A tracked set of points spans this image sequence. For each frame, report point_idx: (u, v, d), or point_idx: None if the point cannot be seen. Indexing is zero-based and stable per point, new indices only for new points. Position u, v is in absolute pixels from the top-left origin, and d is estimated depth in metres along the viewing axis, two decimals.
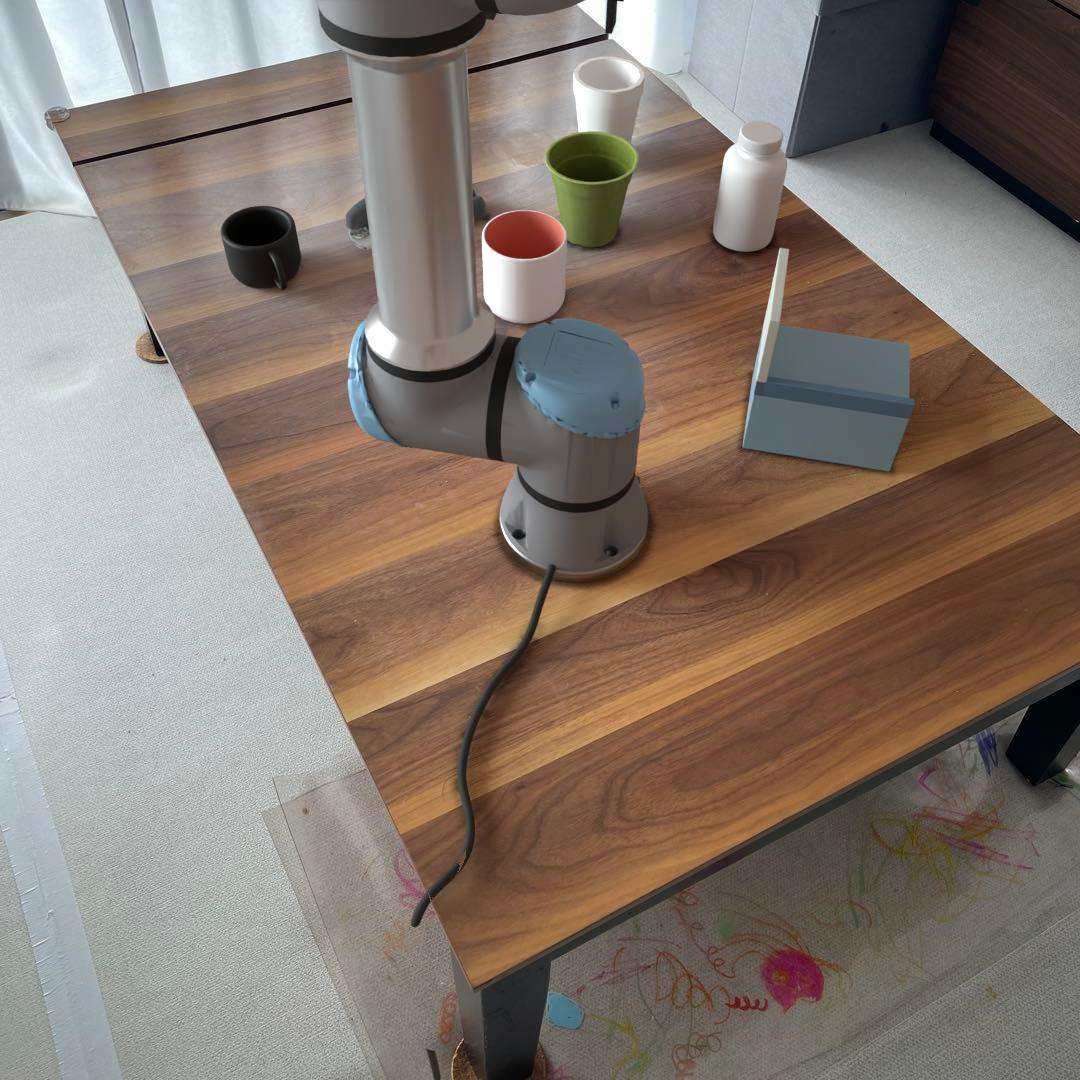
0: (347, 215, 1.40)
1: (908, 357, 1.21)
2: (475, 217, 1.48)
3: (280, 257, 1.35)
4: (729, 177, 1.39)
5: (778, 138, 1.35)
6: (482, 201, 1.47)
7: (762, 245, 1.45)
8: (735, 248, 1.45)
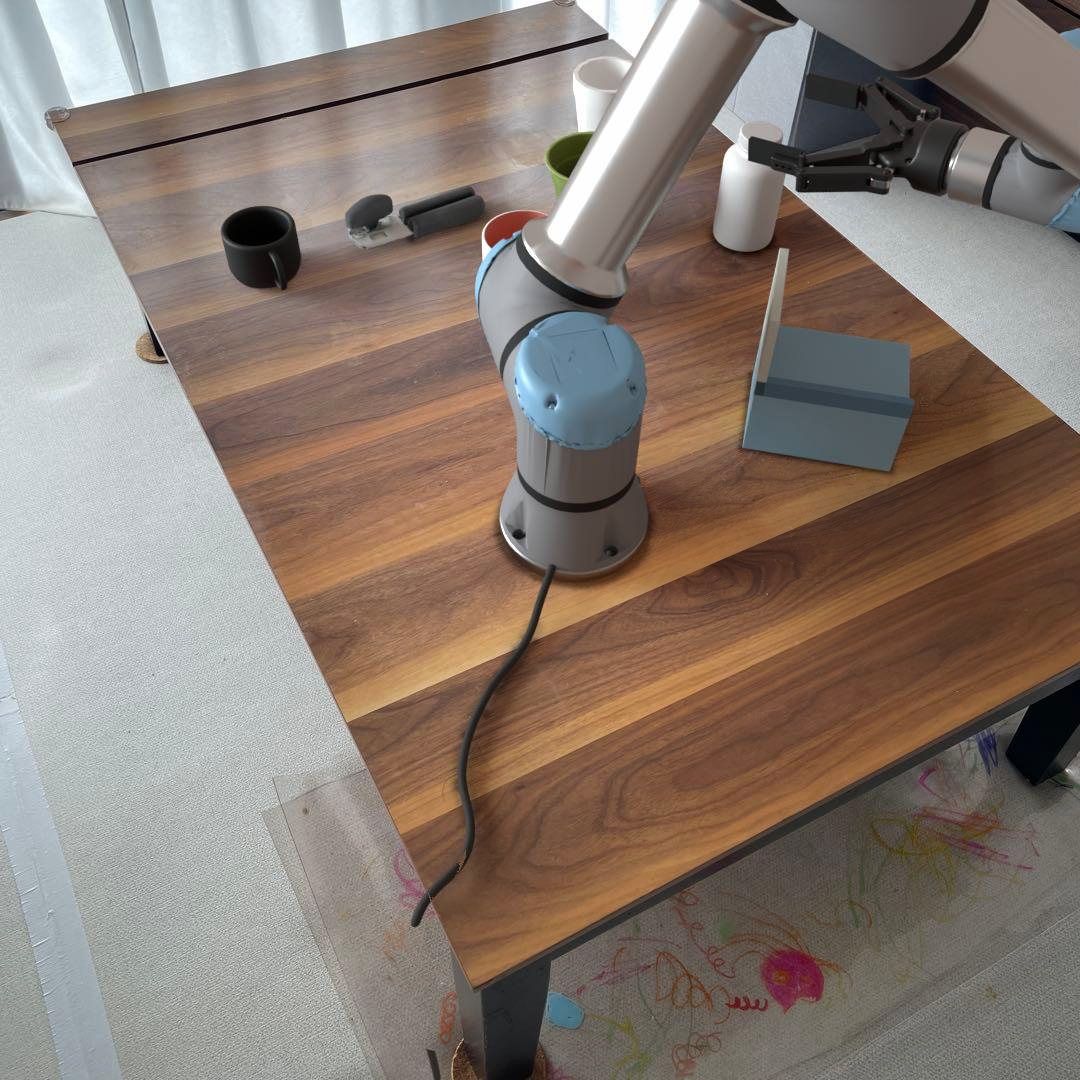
0: (346, 214, 1.40)
1: (908, 357, 1.21)
2: (474, 216, 1.48)
3: (280, 257, 1.35)
4: (729, 177, 1.39)
5: (778, 138, 1.35)
6: (482, 201, 1.47)
7: (762, 245, 1.45)
8: (735, 248, 1.45)
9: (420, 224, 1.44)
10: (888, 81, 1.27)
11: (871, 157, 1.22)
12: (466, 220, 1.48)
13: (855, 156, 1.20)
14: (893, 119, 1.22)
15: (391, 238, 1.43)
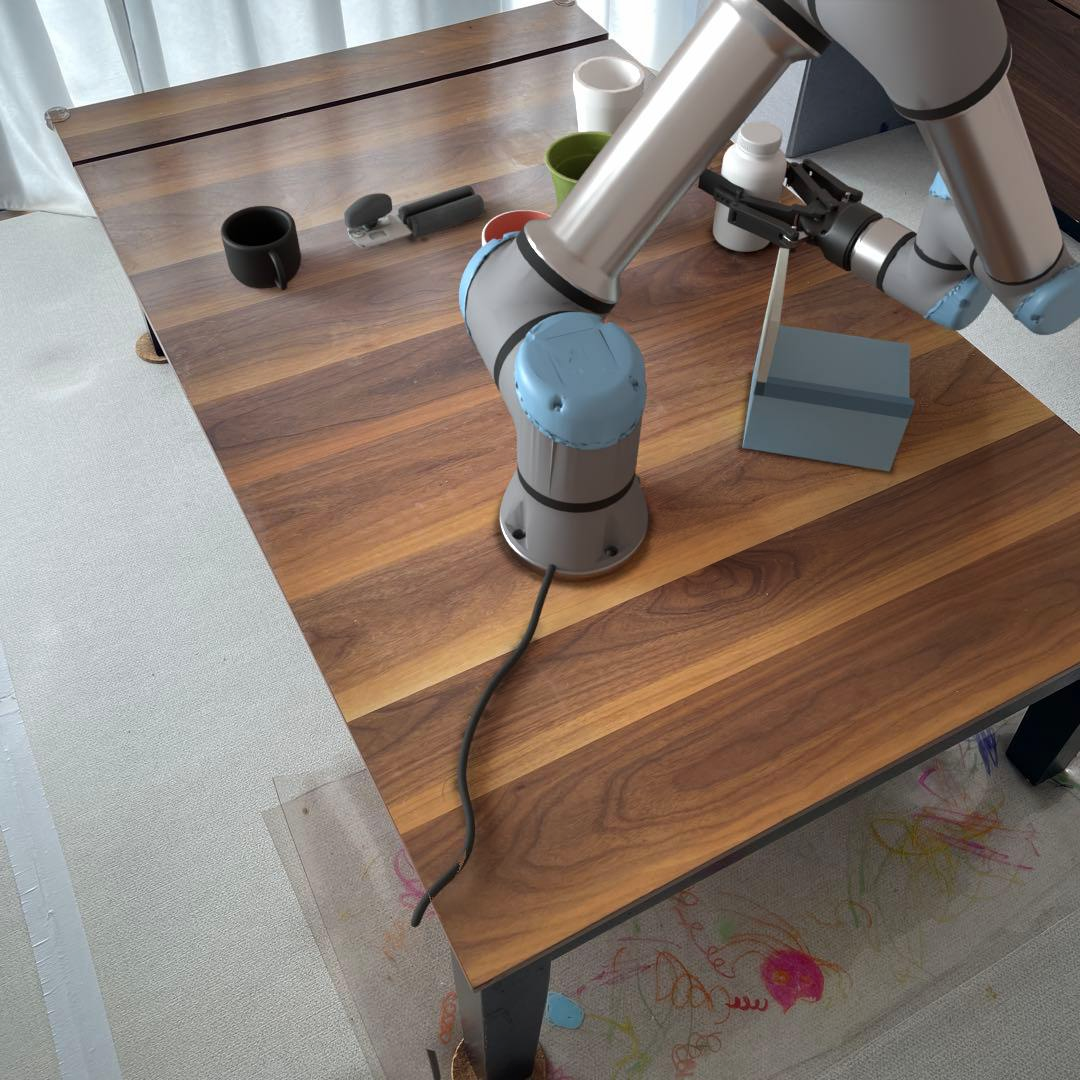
0: (346, 213, 1.41)
1: (908, 357, 1.21)
2: (474, 216, 1.48)
3: (280, 257, 1.35)
4: (728, 178, 1.39)
5: (777, 138, 1.35)
6: (481, 200, 1.48)
7: (762, 245, 1.45)
8: (735, 248, 1.45)
9: (419, 223, 1.44)
10: (815, 164, 1.41)
11: (797, 223, 1.36)
12: (465, 219, 1.48)
13: (781, 211, 1.35)
14: (820, 196, 1.36)
15: (390, 237, 1.43)
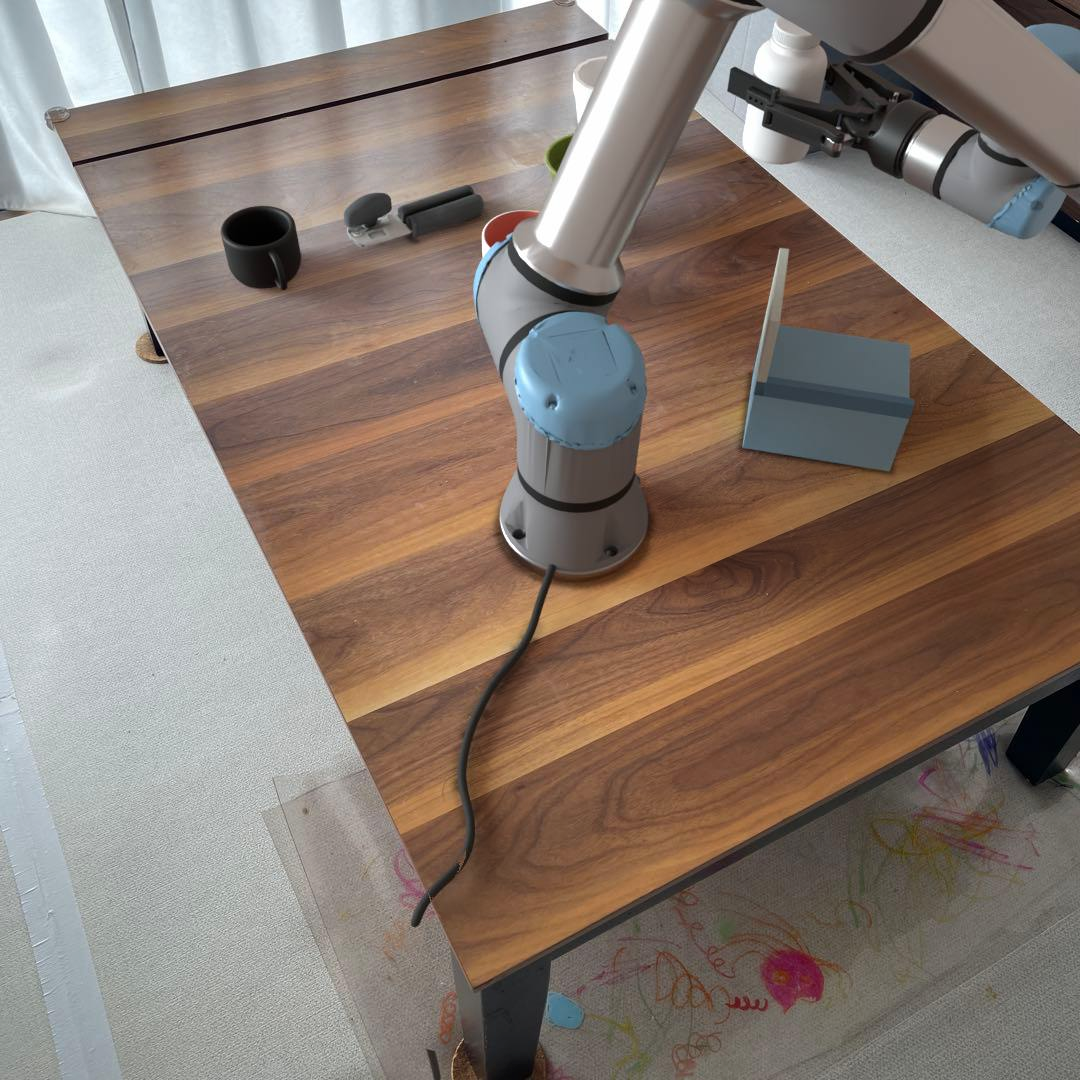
0: (345, 212, 1.41)
1: (908, 357, 1.21)
2: (473, 215, 1.48)
3: (280, 257, 1.35)
4: (762, 77, 1.24)
5: None
6: (480, 199, 1.48)
7: (798, 157, 1.30)
8: (768, 160, 1.30)
9: (419, 223, 1.44)
10: (857, 64, 1.27)
11: (840, 125, 1.21)
12: (465, 219, 1.48)
13: (823, 112, 1.21)
14: (866, 96, 1.22)
15: (390, 236, 1.43)
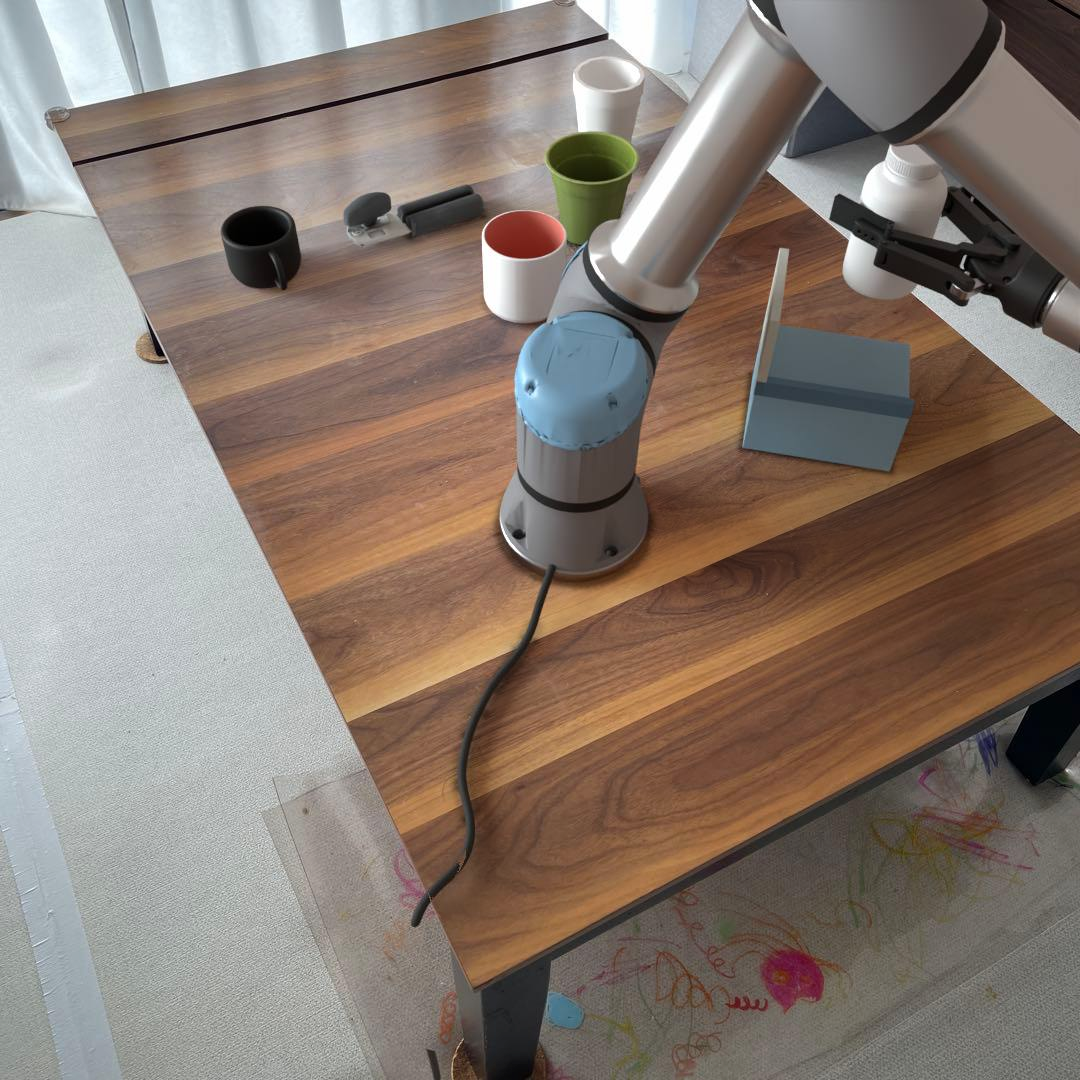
0: (345, 211, 1.41)
1: (908, 357, 1.21)
2: (473, 215, 1.49)
3: (280, 257, 1.35)
4: (872, 208, 1.08)
5: None
6: (480, 199, 1.48)
7: (908, 291, 1.14)
8: (874, 295, 1.14)
9: (418, 222, 1.45)
10: None
11: (965, 266, 1.05)
12: (464, 218, 1.48)
13: (946, 251, 1.05)
14: (994, 232, 1.06)
15: (389, 236, 1.43)
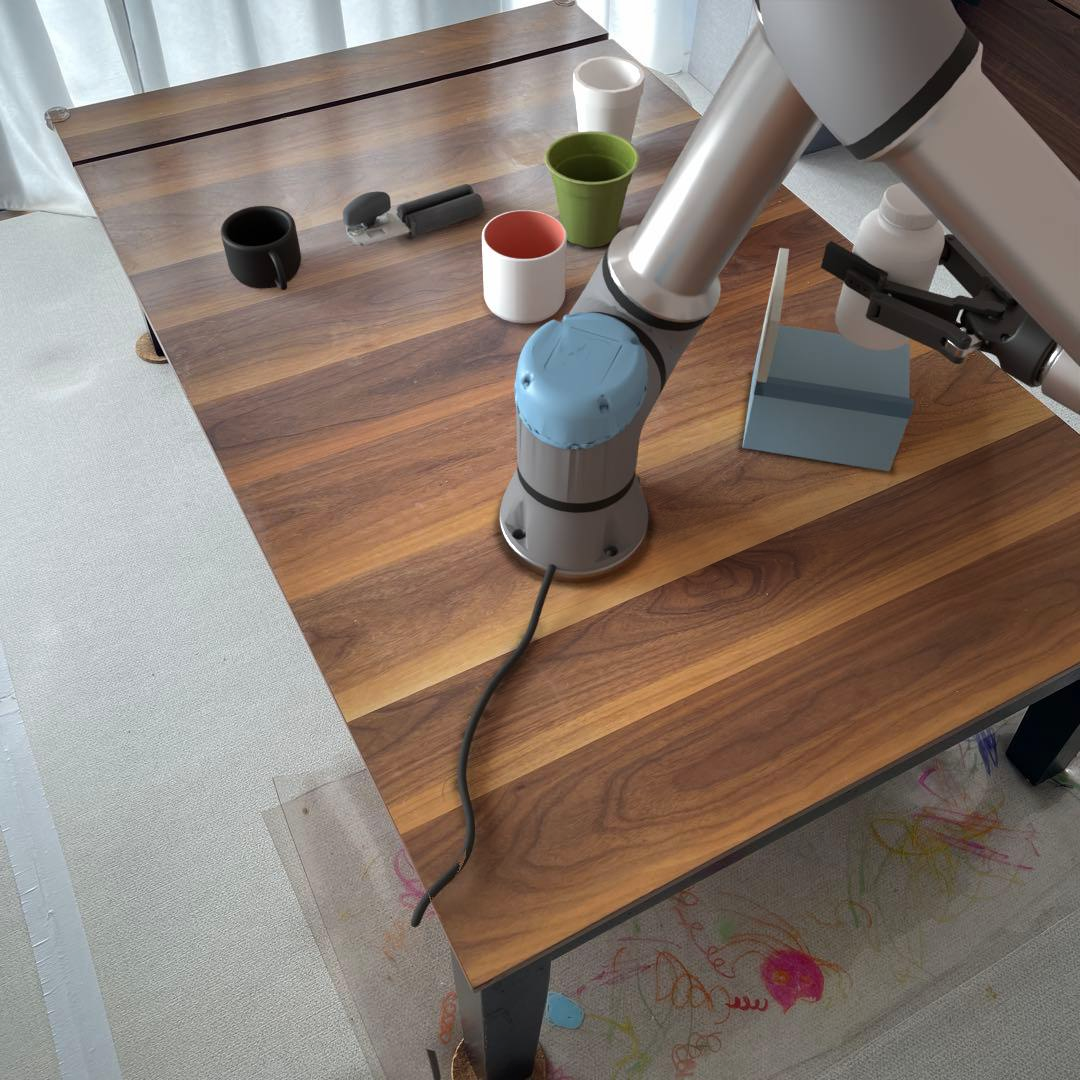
0: (344, 211, 1.41)
1: (908, 357, 1.21)
2: (472, 214, 1.49)
3: (280, 257, 1.35)
4: (866, 258, 1.03)
5: None
6: (479, 198, 1.48)
7: (903, 342, 1.09)
8: (867, 346, 1.09)
9: (418, 222, 1.45)
10: None
11: (961, 320, 1.01)
12: (464, 218, 1.48)
13: (941, 305, 1.00)
14: (993, 284, 1.01)
15: (389, 235, 1.43)
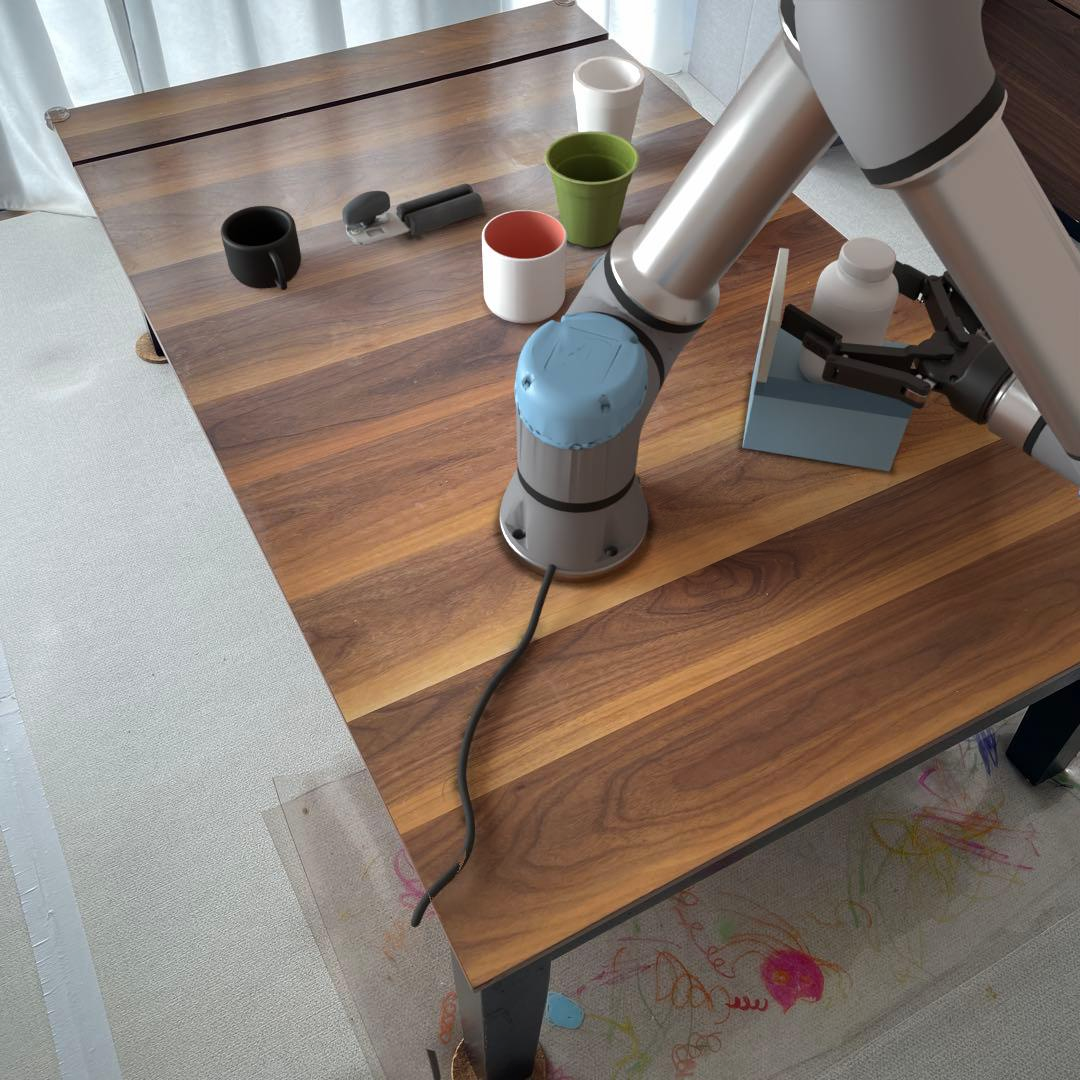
0: (343, 210, 1.41)
1: None
2: (472, 214, 1.49)
3: (280, 257, 1.35)
4: (825, 307, 1.10)
5: (891, 261, 1.07)
6: (479, 198, 1.48)
7: None
8: None
9: (417, 221, 1.45)
10: None
11: (915, 361, 1.07)
12: (463, 217, 1.48)
13: (896, 357, 1.06)
14: (950, 326, 1.08)
15: (388, 234, 1.44)
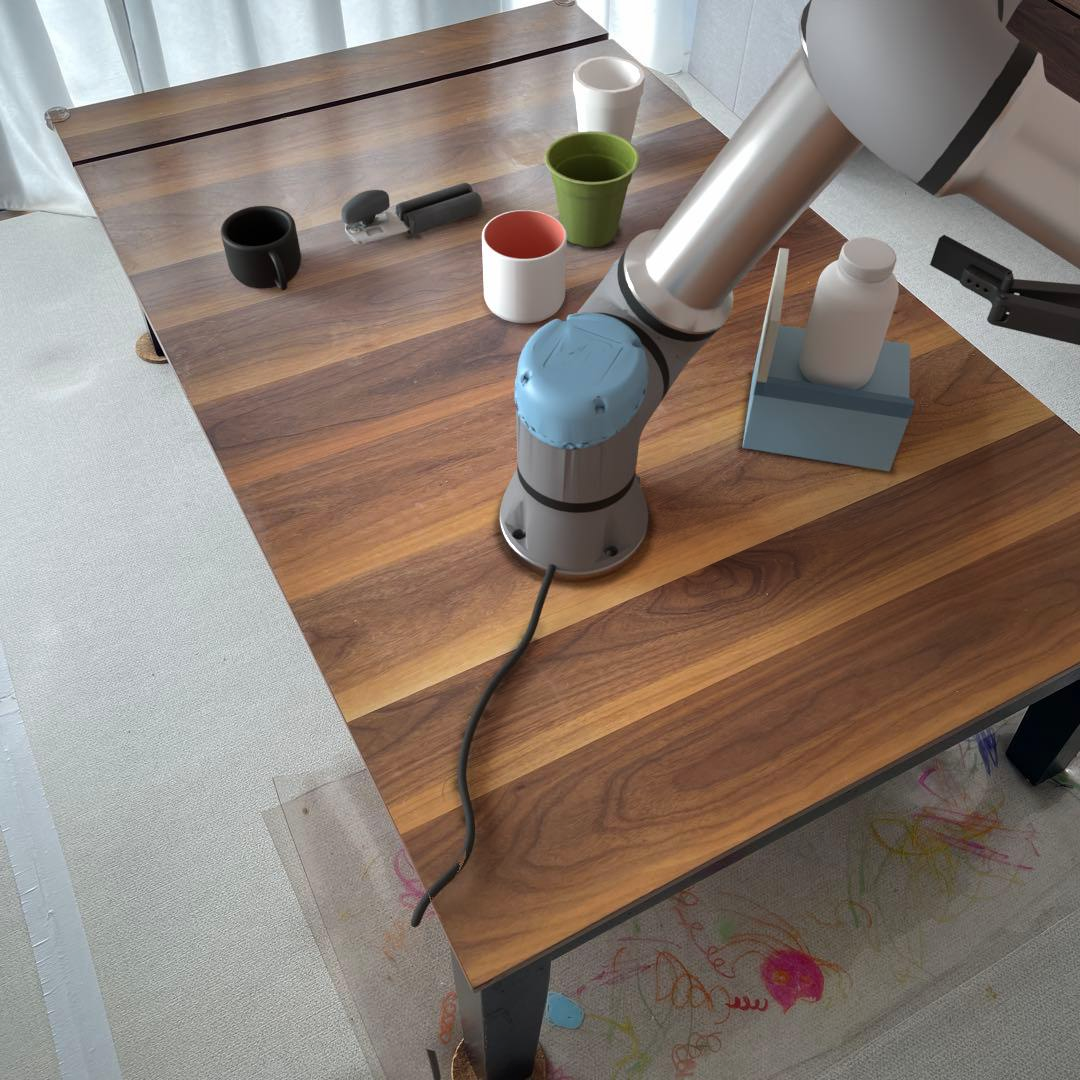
0: (343, 209, 1.41)
1: (908, 357, 1.21)
2: (471, 213, 1.49)
3: (280, 257, 1.35)
4: (825, 307, 1.10)
5: (891, 261, 1.07)
6: (478, 197, 1.48)
7: (862, 384, 1.17)
8: None
9: (417, 220, 1.45)
10: None
11: None
12: (463, 217, 1.48)
13: (1079, 296, 0.88)
14: None
15: (387, 233, 1.44)
